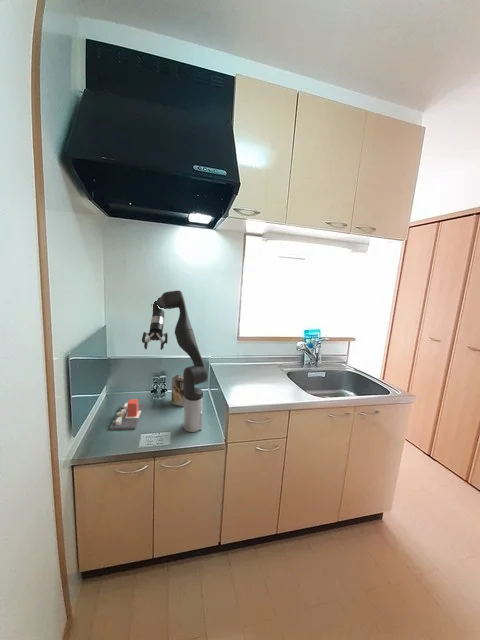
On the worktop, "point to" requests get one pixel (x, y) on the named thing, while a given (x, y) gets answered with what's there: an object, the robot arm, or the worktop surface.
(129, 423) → the panel
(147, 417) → the worktop surface
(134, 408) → the coral red square block
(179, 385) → the coffee box
